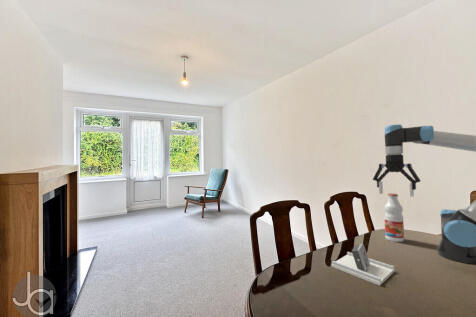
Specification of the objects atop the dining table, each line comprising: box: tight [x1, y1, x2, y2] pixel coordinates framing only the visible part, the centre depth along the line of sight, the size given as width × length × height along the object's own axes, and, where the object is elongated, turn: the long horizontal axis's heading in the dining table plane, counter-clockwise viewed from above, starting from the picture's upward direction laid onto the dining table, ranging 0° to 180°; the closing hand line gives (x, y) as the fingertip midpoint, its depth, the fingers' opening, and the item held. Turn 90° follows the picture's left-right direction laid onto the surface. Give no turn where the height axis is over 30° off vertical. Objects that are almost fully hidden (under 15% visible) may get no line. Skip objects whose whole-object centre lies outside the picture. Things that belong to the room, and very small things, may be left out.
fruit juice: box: [384, 192, 405, 243], centre depth 131 cm, size 9×9×28 cm
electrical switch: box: [351, 243, 370, 271], centre depth 97 cm, size 9×5×9 cm, turn 141°
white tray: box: [330, 251, 396, 286], centre depth 97 cm, size 20×17×2 cm
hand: (395, 194), depth 112 cm, fingers open, 13 cm apart
